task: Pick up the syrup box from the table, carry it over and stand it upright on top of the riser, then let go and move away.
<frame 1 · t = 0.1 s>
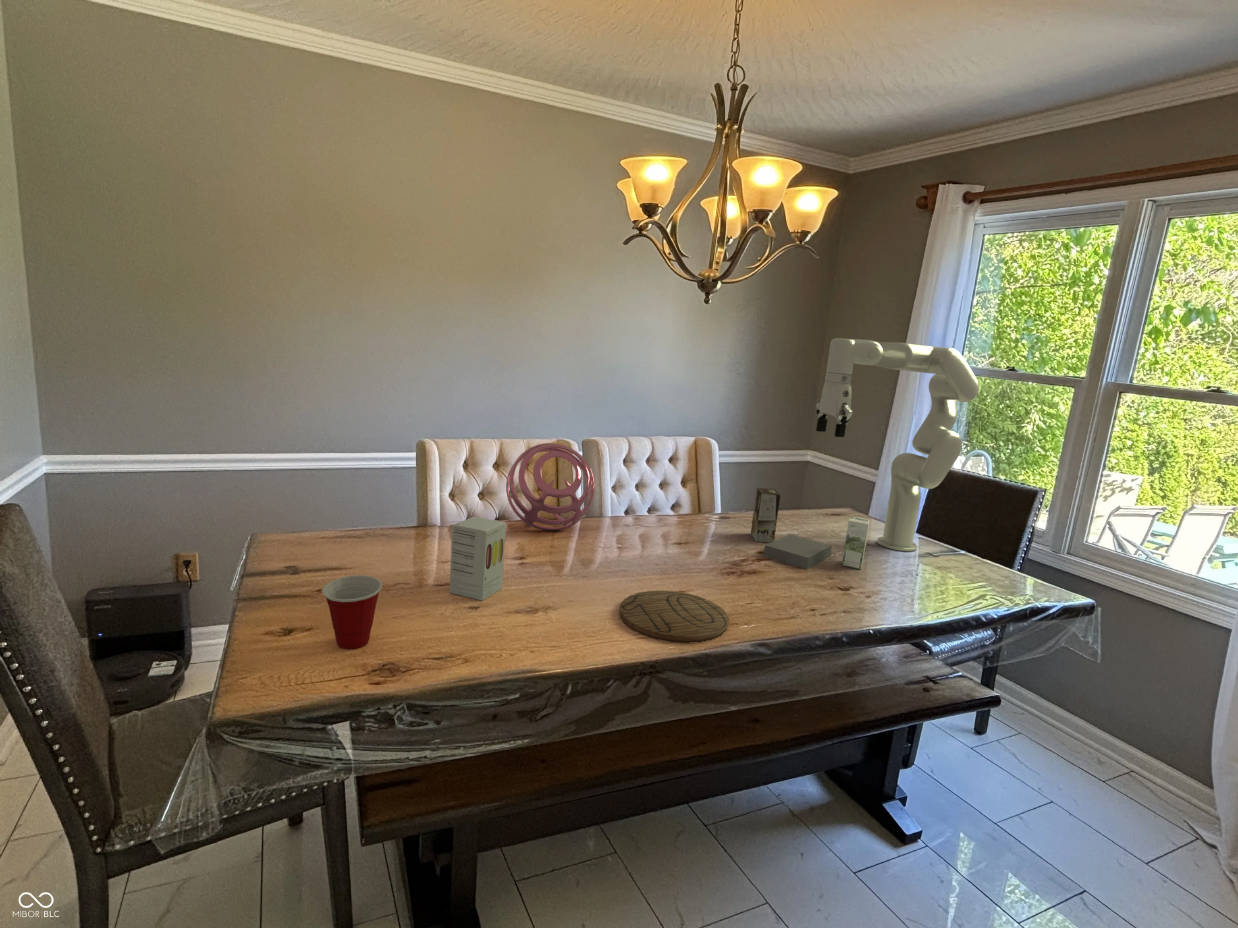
hand: (829, 434, 213), 37 cm above the table, tool pointing down, fingers open, 9 cm apart
plastic cup: (352, 644, 133), on the table
syrup box: (852, 566, 205), on the table
trivet: (673, 620, 157), on the table
coffee box: (762, 538, 226), on the table
supplement box: (476, 591, 163), on the table
pink openwork sphere: (548, 527, 217), on the table
riser: (797, 557, 210), on the table
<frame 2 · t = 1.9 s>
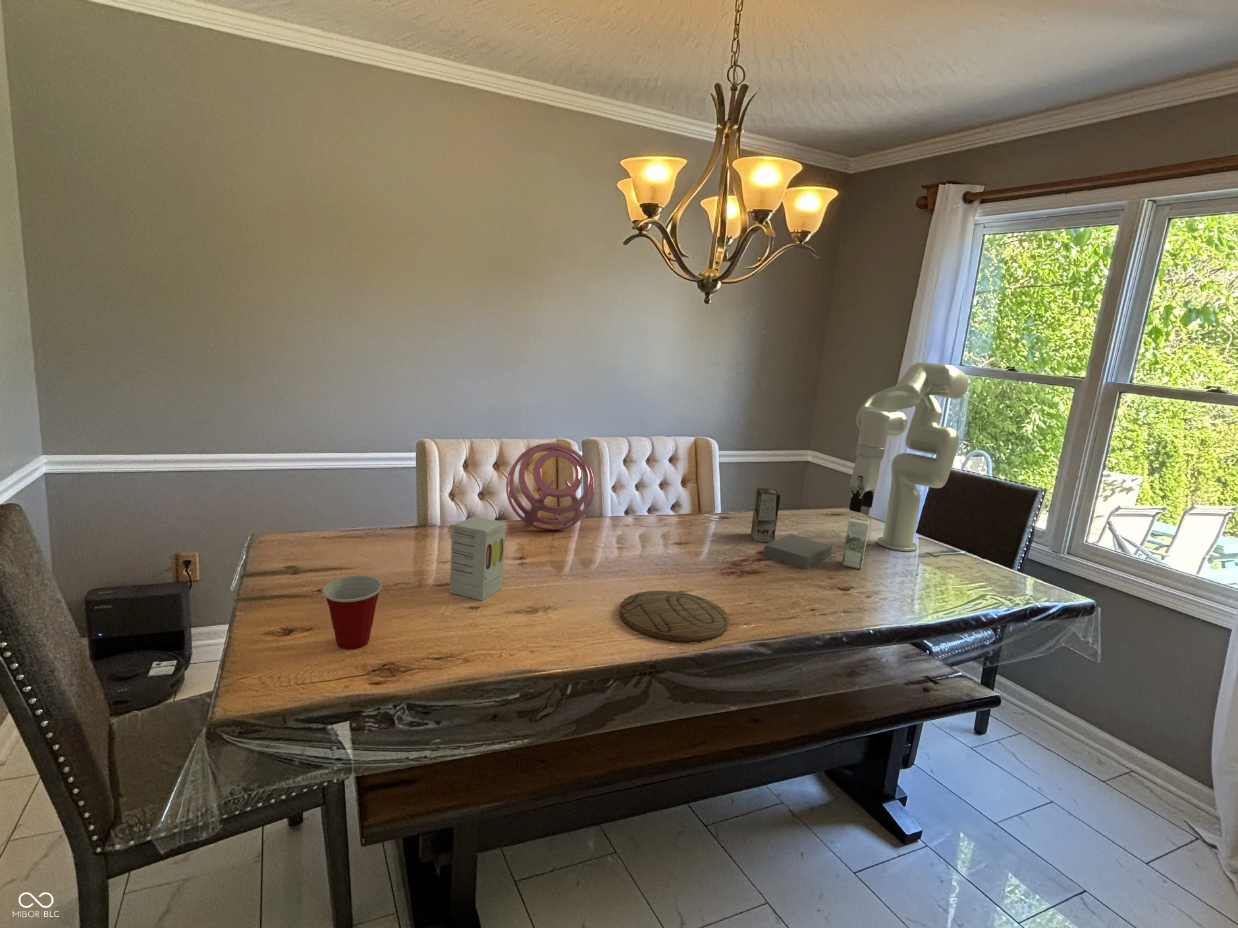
hand: (860, 508, 202), 18 cm above the table, tool pointing down, fingers open, 9 cm apart
nothing on the table moved.
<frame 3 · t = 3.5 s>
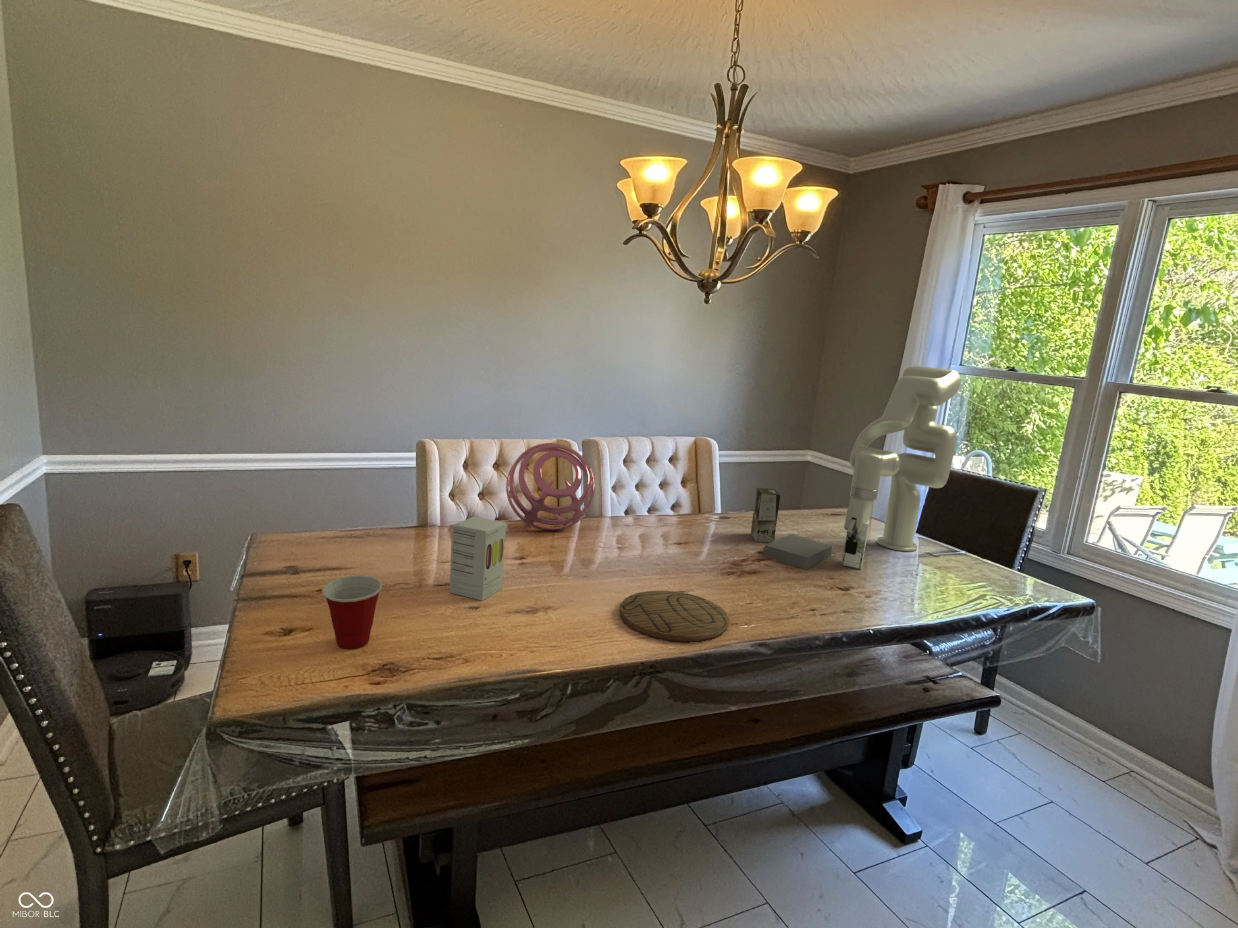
hand: (854, 550, 205), 5 cm above the table, tool pointing down, fingers closed on syrup box, 6 cm apart
syrup box: (851, 566, 205), on the table, touching gripper
everything else where it was.
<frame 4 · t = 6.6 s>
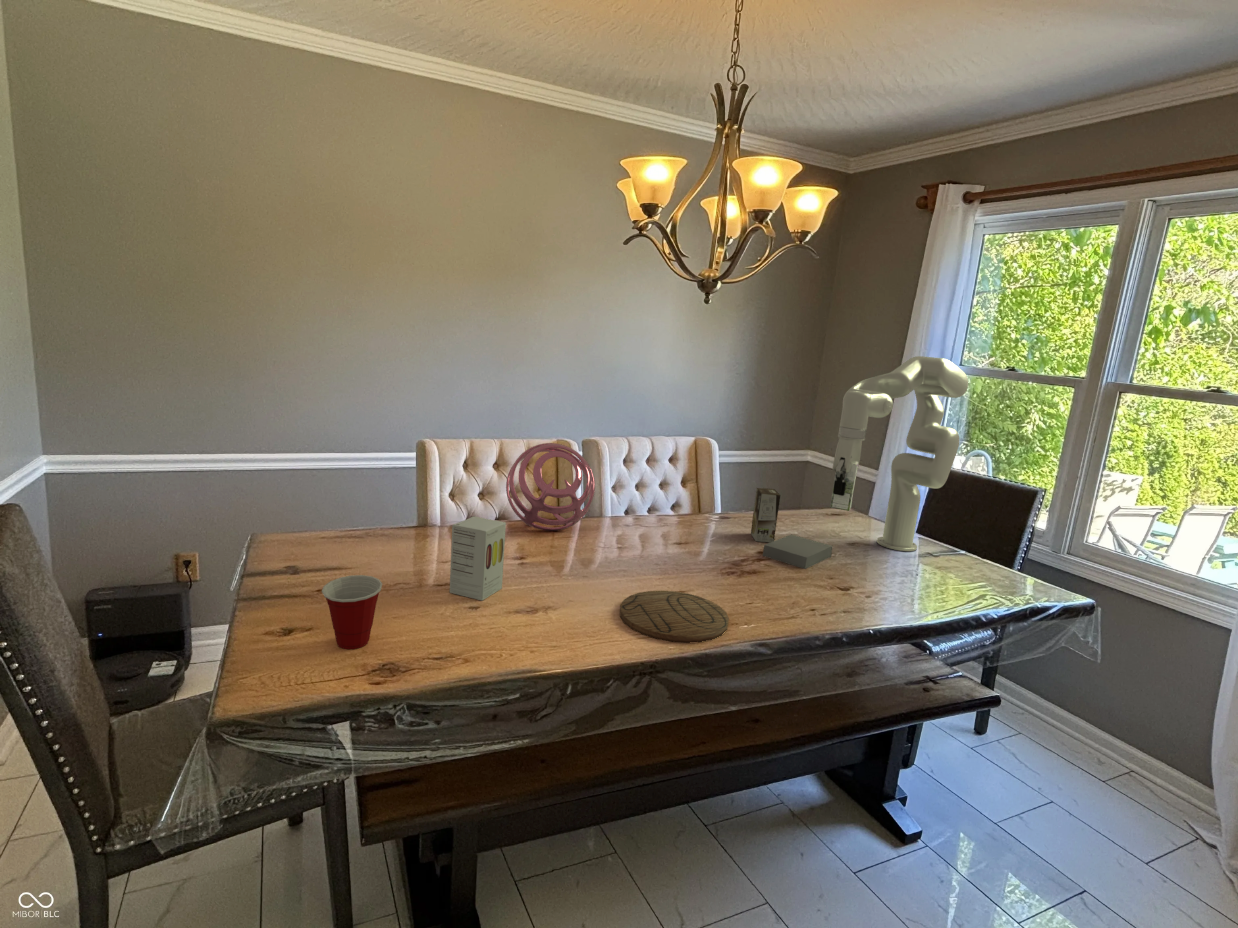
hand: (842, 492, 203), 22 cm above the table, tool pointing down, fingers closed on syrup box, 6 cm apart
syrup box: (840, 508, 203), point 17 cm above the table, touching gripper
everything else where it was.
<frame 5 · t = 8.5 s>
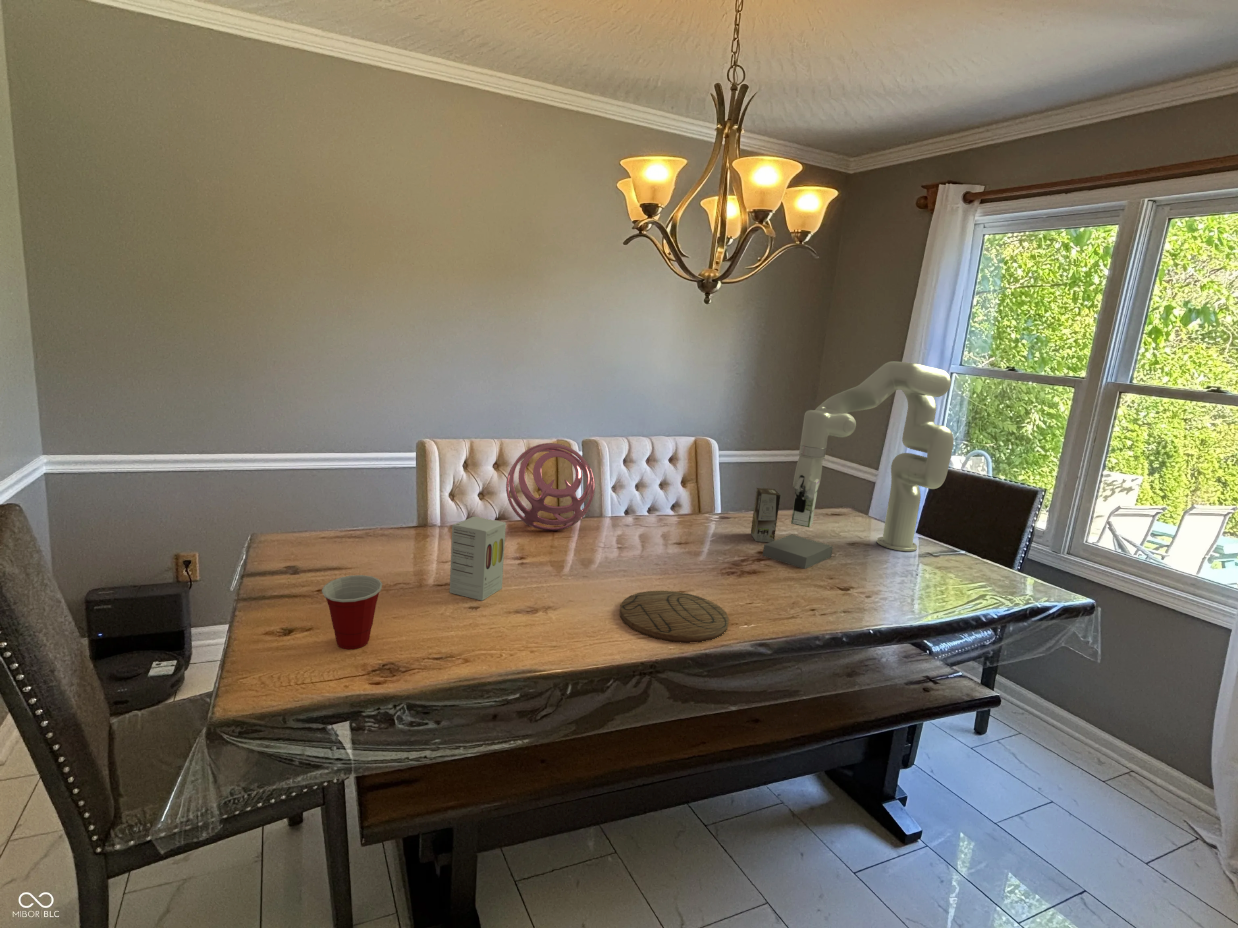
hand: (803, 509, 207), 15 cm above the table, tool pointing down, fingers closed on syrup box, 6 cm apart
syrup box: (801, 524, 208), point 10 cm above the table, touching gripper
everything else where it was.
when the fingers open (10 cm above the table, at t = 9.9 s): syrup box drops 2 cm, point 3 cm above the table.
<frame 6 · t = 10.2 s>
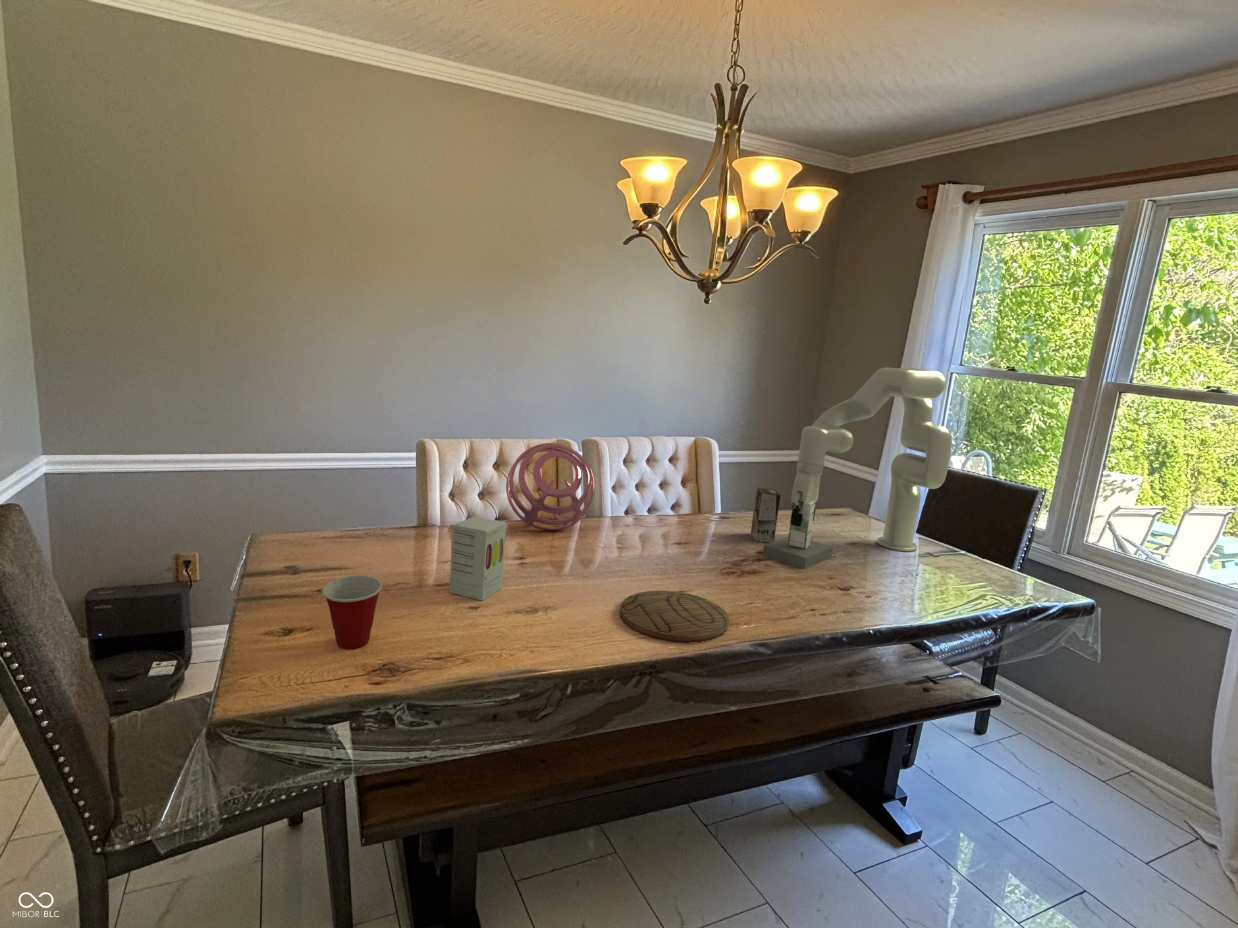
hand: (802, 522, 208), 11 cm above the table, tool pointing down, fingers open, 9 cm apart
syrup box: (798, 545, 209), point 3 cm above the table
everything else where it was.
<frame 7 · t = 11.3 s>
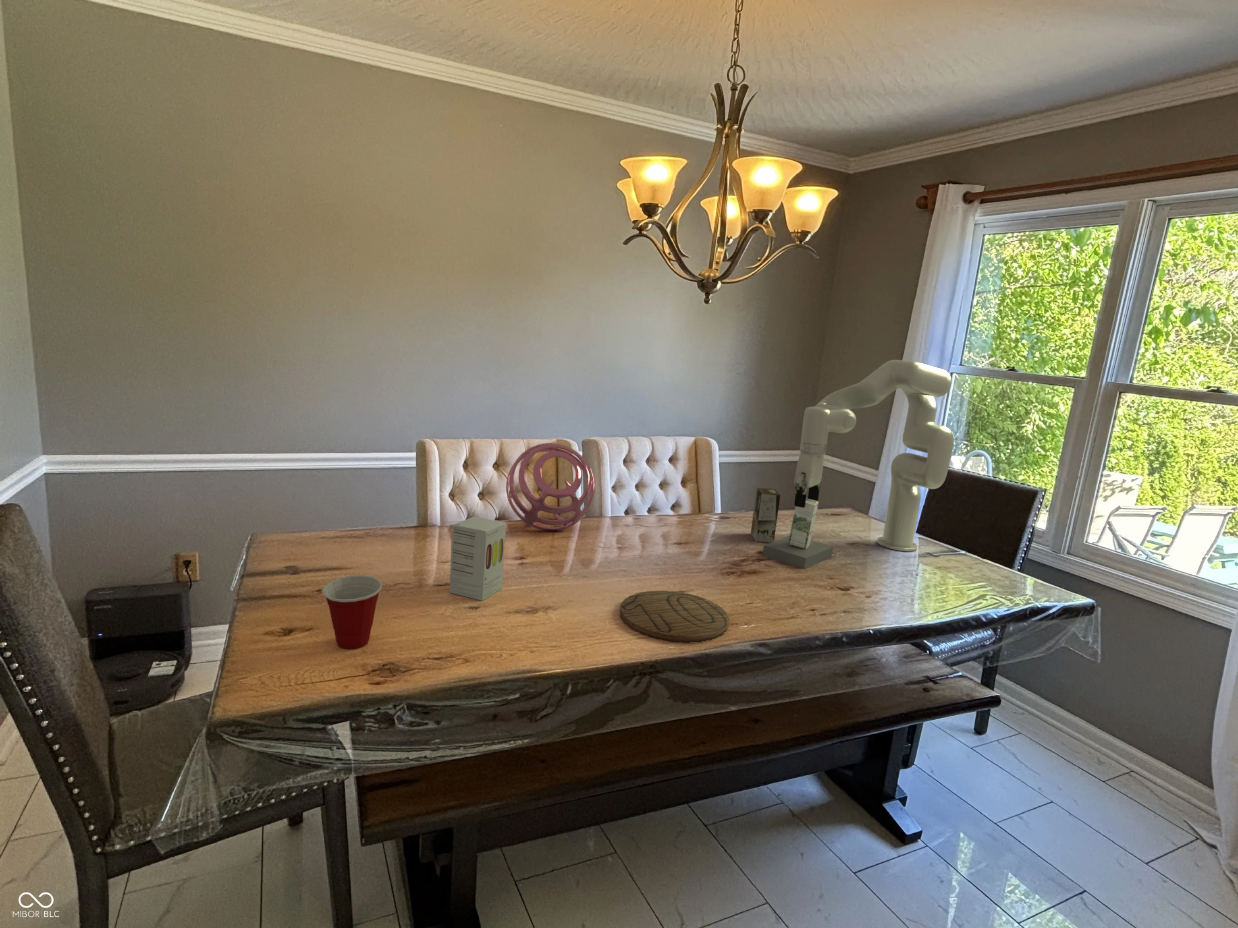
hand: (806, 503, 207), 17 cm above the table, tool pointing down, fingers open, 9 cm apart
syrup box: (798, 545, 209), point 3 cm above the table, touching riser
riser: (797, 558, 210), on the table, touching syrup box
everything else where it was.
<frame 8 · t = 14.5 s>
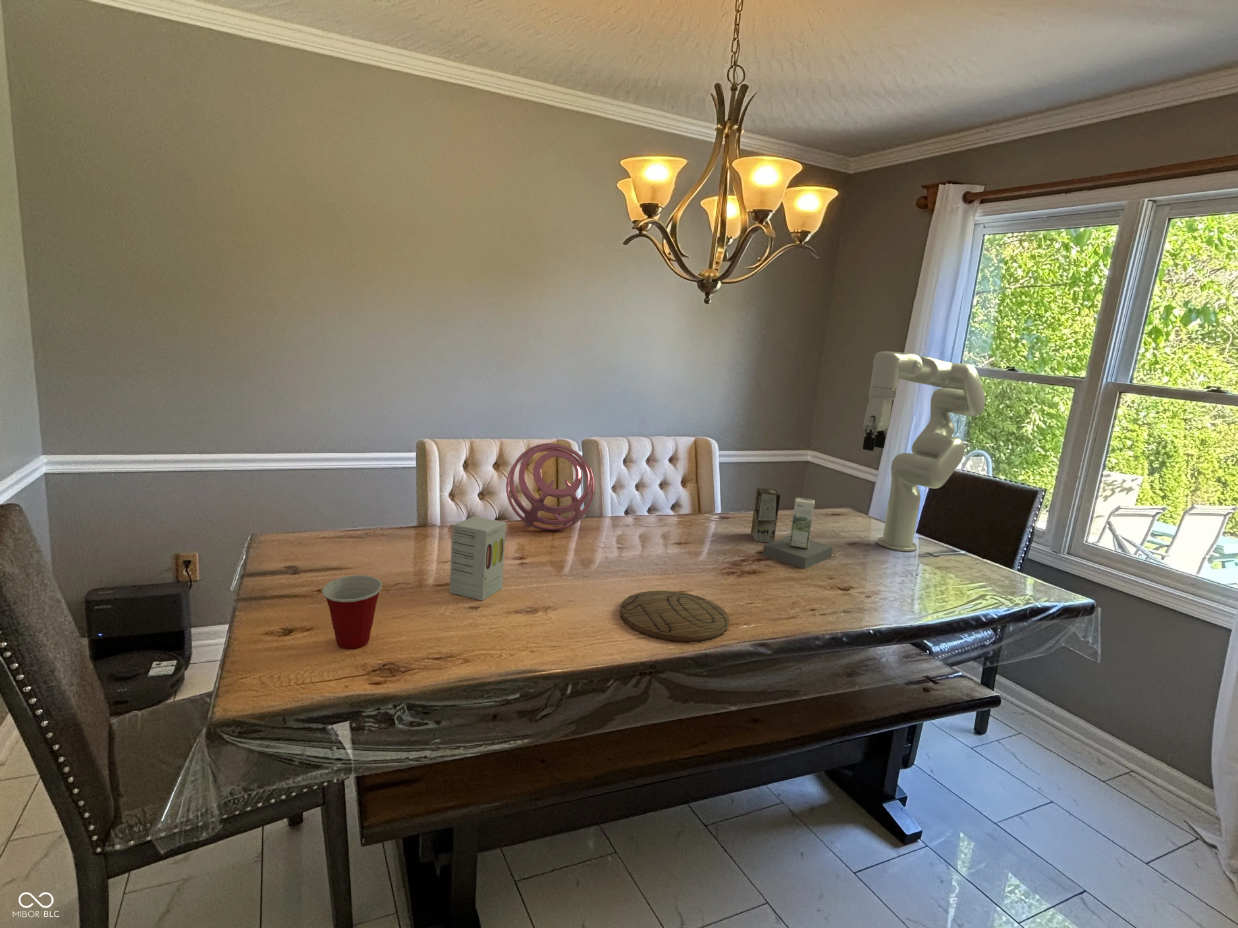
hand: (873, 448, 210), 34 cm above the table, tool pointing down, fingers open, 9 cm apart
at the end: syrup box inside the target area on the riser (0.4 cm from its centre), point 3.9 cm above the riser's base; syrup box tilted 1°; the gripper is holding nothing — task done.
